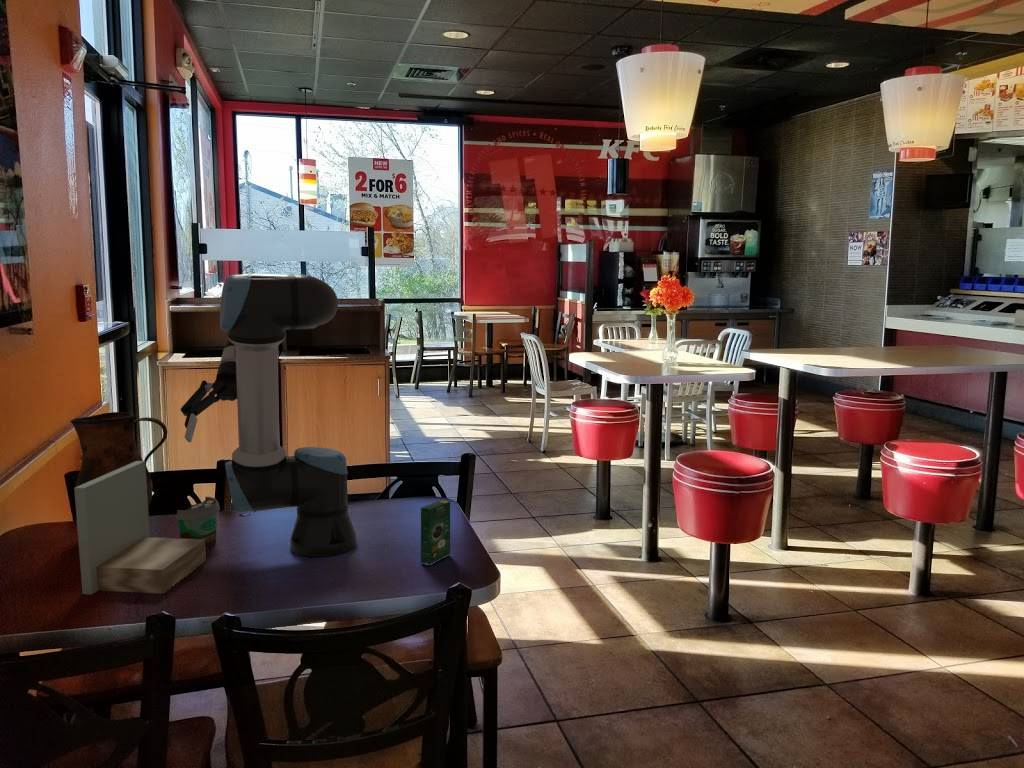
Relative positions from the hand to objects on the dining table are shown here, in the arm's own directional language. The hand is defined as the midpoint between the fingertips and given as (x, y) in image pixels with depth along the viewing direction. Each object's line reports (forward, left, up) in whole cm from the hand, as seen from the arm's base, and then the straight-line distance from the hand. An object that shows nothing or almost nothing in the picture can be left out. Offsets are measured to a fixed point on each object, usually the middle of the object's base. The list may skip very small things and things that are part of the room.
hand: (215, 440), depth 193 cm
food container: (0, +8, -24) cm, 25 cm away
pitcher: (+22, +4, -24) cm, 32 cm away
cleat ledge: (+2, +27, -23) cm, 36 cm away
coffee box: (-56, +12, -24) cm, 62 cm away
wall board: (+10, +27, -23) cm, 37 cm away
